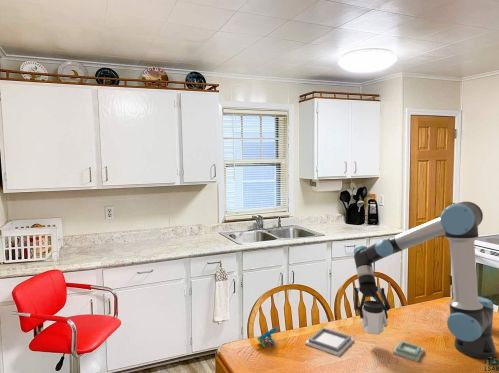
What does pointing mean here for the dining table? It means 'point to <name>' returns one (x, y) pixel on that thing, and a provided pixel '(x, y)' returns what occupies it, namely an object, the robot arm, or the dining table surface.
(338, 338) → the grey picture frame
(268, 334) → the blue green toy
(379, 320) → the jar
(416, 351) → the small collar
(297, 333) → the dining table surface
